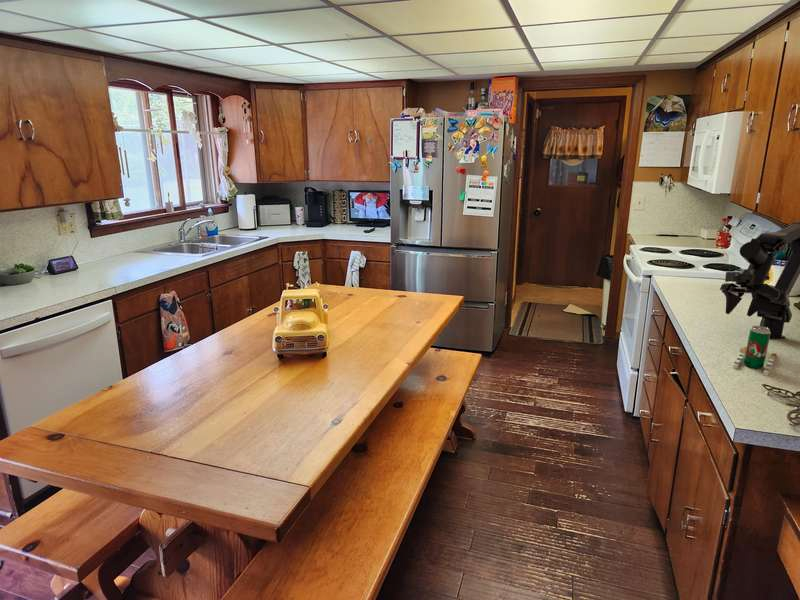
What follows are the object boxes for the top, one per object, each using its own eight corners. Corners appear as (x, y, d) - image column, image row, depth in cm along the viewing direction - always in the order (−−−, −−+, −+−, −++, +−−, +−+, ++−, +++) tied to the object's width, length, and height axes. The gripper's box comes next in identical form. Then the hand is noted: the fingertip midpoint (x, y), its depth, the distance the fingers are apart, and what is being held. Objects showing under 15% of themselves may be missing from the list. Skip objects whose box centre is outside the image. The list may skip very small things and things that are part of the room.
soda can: (757, 363, 160) (765, 325, 157) (767, 369, 155) (775, 331, 152) (740, 362, 160) (747, 324, 157) (748, 369, 155) (756, 330, 152)
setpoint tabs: (740, 350, 167) (741, 347, 166) (776, 358, 161) (777, 355, 160) (739, 352, 165) (739, 349, 165) (775, 359, 159) (776, 356, 159)
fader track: (744, 349, 171) (745, 345, 170) (776, 356, 165) (777, 351, 165) (732, 368, 156) (733, 363, 156) (767, 375, 151) (768, 371, 150)
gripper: (716, 260, 177) (697, 302, 177) (759, 258, 159) (738, 306, 159) (744, 274, 179) (724, 316, 179) (790, 274, 160) (768, 321, 160)
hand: (737, 314), depth 169 cm, fingers open, 9 cm apart
